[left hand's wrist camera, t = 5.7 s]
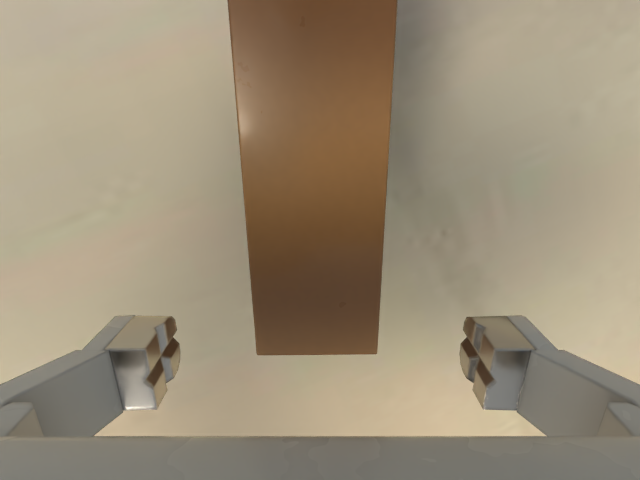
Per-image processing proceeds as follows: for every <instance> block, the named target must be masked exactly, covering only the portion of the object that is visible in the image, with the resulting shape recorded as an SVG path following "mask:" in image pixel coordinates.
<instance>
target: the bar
mask: <svg viewBox="0 0 640 480" xmlns="http://www.w3.org/2000/svg"><path fill="white" fill-rule="evenodd" d="M228 12H229V24H230V36H231V48H232V60H233V72H234V84H235V96H236V108H237V121H238V133H239V145H240V157H241V169H242V181H243V193H244V205H245V218H246V230H247V242H248V254H249V266H250V278H251V290H252V302H253V314H254V327H255V339H256V351H257V355H337V354H377V348H378V330H379V313H380V296H381V278H382V261H383V244H384V226H385V209H386V191H387V174H388V157H389V139H390V122H391V105H392V87H393V70H394V52H395V35H396V18H397V0H228Z"/></svg>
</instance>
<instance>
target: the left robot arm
mask: <svg viewBox="0 0 640 480" xmlns="http://www.w3.org/2000/svg"><path fill="white" fill-rule="evenodd" d="M176 331H177V327H176V322H175V319H174V318H173V317H172V316H135V315H129V316H115V317H114V318H113V319H112V320H111V321H110V322H109V323H108V324H107V325H106V326H105V327H104V328H103V329H102V330H101V331H100V332H99V333H98V334H97V335H96V336H95V337H94V338H93V339H92V340H91V341H90V342H89V343H88V344H87V345H86V346H85V347H84V348H83V350H75V351H73V352H71V353H69V354H66V355H64V356H62V357H60V358H58V359H56V360H53V361H51V362H49V363H47V364H45V365H42V366H40V367H38V368H36V369H34V370H31V371H29V372H27V373H25V374H23V375H20V376H18V377H16V378H14V379H12V380H9V381H7V382H5V383H3V384H1V385H0V480H640V385H639V384H637V383H635V382H633V381H630V380H628V379H626V378H624V377H622V376H619V375H617V374H615V373H613V372H611V371H609V370H606V369H604V368H602V367H600V366H598V365H595V364H593V363H591V362H589V361H587V360H584V359H582V358H580V357H578V356H576V355H573V354H571V353H569V352H567V351H565V350H558V349H557V348H556V347H555V346H554V345H553V344H552V343H551V342H550V341H549V340H548V339H547V338H546V337H545V336H544V335H543V334H542V333H541V332H540V331H539V330H538V329H537V328H536V327H535V326H534V325H533V324H532V323H531V322H530V321H529V320H528V319H527V318H526V317H524V316H522V315H515V316H483V317H466V320H465V322H464V327H463V331H464V332H465V334H466V336H467V338H466V339H465V340H464V341H463V342H462V343H461V346H460V364H461V367H462V370H463V373H464V375H465V377H466V378H467V379H468V380H470V381H471V382H473V383H474V385H473V392H474V394H475V395H476V397H477V399H478V401H479V403H480V405H481V406H482V408H483V409H485V410H517V413H519V414H520V415H521V416H522V417H524V418H525V419H526V420H528V421H529V422H530V423H531V424H533V425H534V426H535V427H536V428H538V429H539V430H540V431H541V432H543V433H544V434H545V435H546V436H94V435H95V434H96V433H98V432H99V431H100V430H101V429H103V428H104V427H105V426H106V425H108V424H109V423H110V422H111V421H113V420H114V419H115V418H116V417H118V416H119V415H120V414H121V413H123V410H154V409H157V408H158V406H159V405H160V403H161V401H162V399H163V397H164V395H165V394H166V392H167V385H166V383H167V382H169V381H170V380H172V379H173V378H174V377H175V375H176V373H177V371H178V367H179V363H180V346H179V343H178V342H177V341H176V340H175V339H174V338H173V336H174V334H175V332H176Z"/></svg>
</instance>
